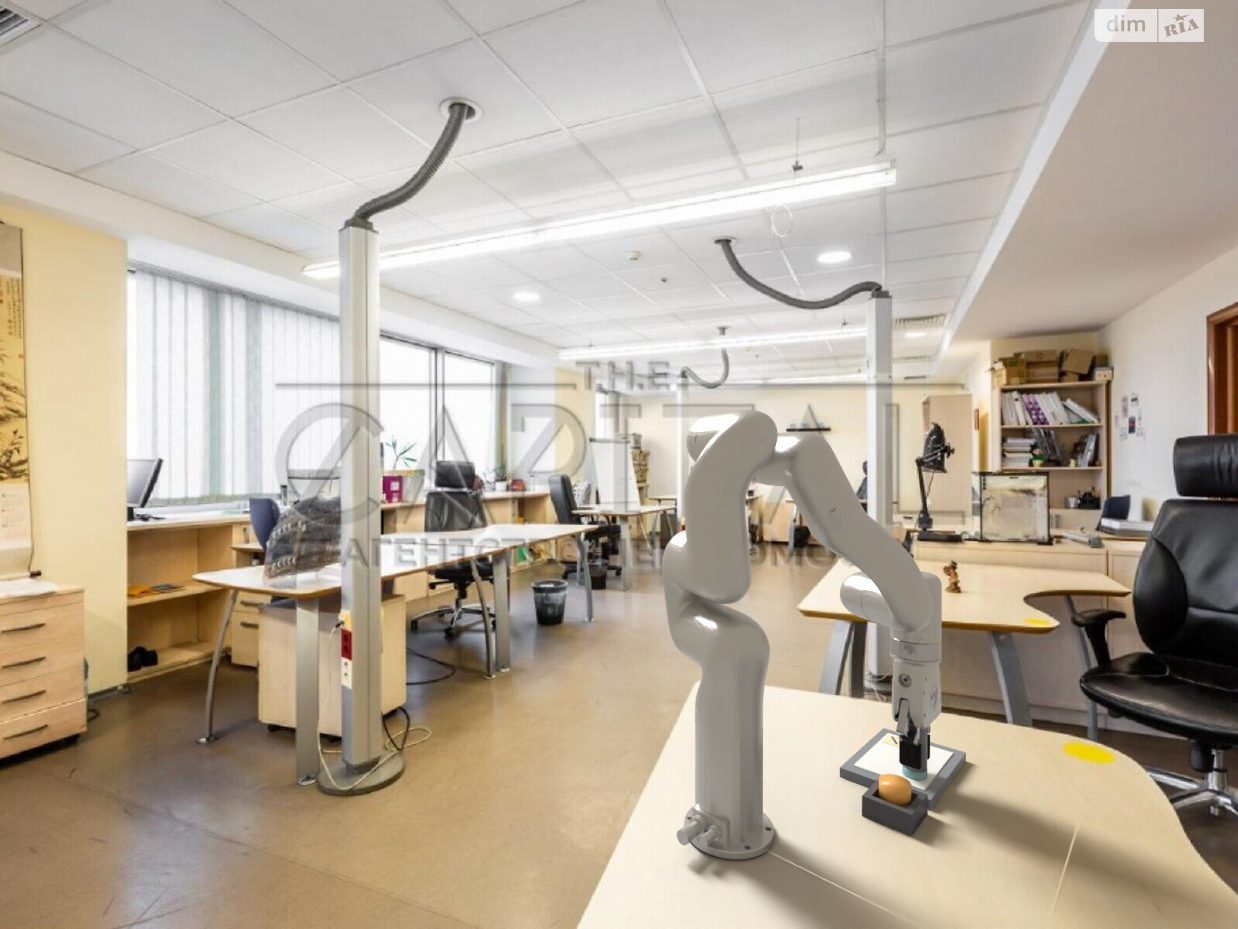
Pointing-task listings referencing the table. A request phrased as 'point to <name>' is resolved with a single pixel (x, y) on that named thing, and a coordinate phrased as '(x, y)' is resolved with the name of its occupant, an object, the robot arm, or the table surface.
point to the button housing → (895, 810)
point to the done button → (895, 789)
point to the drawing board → (885, 760)
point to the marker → (923, 772)
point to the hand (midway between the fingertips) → (914, 760)
